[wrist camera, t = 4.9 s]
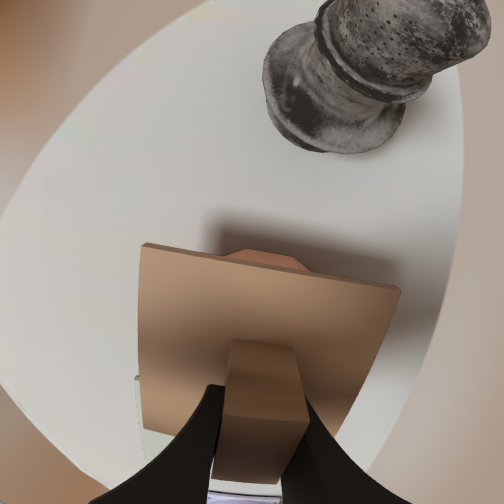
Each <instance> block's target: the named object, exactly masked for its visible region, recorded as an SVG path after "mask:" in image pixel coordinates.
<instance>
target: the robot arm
mask: <svg viewBox="0 0 504 504" xmlns="http://www.w3.org/2000/svg"><path fill="white" fill-rule="evenodd" d="M224 395H225V386H221V385H215V384H209V385H207V387H206V390H205V392H204V395H203V397H202V399H201V401H200V402H199V404H198V406H197V407H196V409H195V411H194V412H193V414H192V415H191V417H190V418H189V420H188V421H187V422H186V424H185V425H184V426H183V428H182V429H181V430H180V431H179V433H178V434H177V435H176V436H175V438H174V439H173V440H172V441H171V442H170V443H169V444H168V445H167V446H166V447H165V449H164V450H163V451H161V452H160V453H159V454H158V455H157V456H156V457H155V458H154V459H153V460H152V461H151V462H150V463H148V464H147V465H146V466H145V467H144V468H143V469H141V470H140V471H139V472H137V473H136V474H135V475H133V476H132V477H130V478H129V479H128V480H126V481H125V482H123V483H122V484H120V485H119V486H117V487H115V488H114V489H112V490H110V491H108V492H107V493H105V494H103V495H101V496H99V497H97V498H95V499H93V500H91V501H90V502H89V503H88V504H279V502H280V498H278V497H253V496H240V495H230V494H221V493H214V492H208V487H209V479H210V470H211V466H212V462H213V458H214V454H215V449H216V444H217V438H218V433H219V428H220V423H221V418H222V412H223V405H224ZM304 396H305V395H304ZM305 400H306V405H307V409H308V414H309V419H310V423H309V425H308V427H307V429H306V431H305V433H304V435H303V437H302V439H301V441H300V443H299V445H298V447H297V449H296V451H295V453H294V454H293V456H292V458H291V460H290V462H289V464H288V465H287V467H286V469H285V471H284V472H283V474H282V476H281V478H280V479H281V487H282V495H283V504H412V503H410V502H408V501H406V500H404V499H402V498H400V497H399V496H397V495H395V494H393V493H392V492H390V491H389V490H387V489H386V488H384V487H383V486H382V485H380V484H379V483H377V482H376V481H375V480H374V479H372V478H371V477H370V476H369V475H367V474H366V473H365V472H364V471H363V470H362V469H361V468H360V467H359V466H358V465H357V464H356V463H355V462H354V461H353V460H352V459H351V458H350V457H349V456H348V455H347V454H346V453H345V451H344V450H343V449H342V448H341V447H340V445H339V444H338V443H337V442H336V440H335V439H334V438H333V436H332V435H331V434H330V432H329V431H328V430H327V428H326V427H325V425H324V424H323V422H322V421H321V419H320V418H319V416H318V415H317V413H316V412H315V410H314V409H313V407H312V405H311V404H310V402H309V401H308V399H307V397H306V396H305ZM0 504H4V503H3V502H2V501H0Z"/></svg>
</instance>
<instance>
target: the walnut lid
mask: <svg viewBox="0 0 504 504" xmlns="http://www.w3.org/2000/svg"><path fill="white" fill-rule="evenodd" d="M400 293H401V290H400V289H398V288H397V287H396V286H395V285H389V284H383V283H376V282H370V281H364V280H358V279H352V278H346V277H340V276H334V275H328V274H322V273H316V272H310V271H305V270H299V269H293V268H287V267H281V266H275V265H270V264H264V263H258V262H252V261H247V260H241V259H235V258H230V257H224V256H218V255H213V254H207V253H202V252H196V251H191V250H185V249H180V248H174V247H169V246H163V245H158V244H152V243H145V244H144V245H142V246H141V254H140V269H139V290H138V363H139V383H140V398H141V409H142V420H143V428H144V429H147V430H151V431H155V432H158V433H162V434H166V435H171V436H176V435H177V434H178V433H179V431H180V430H181V429H182V428H183V426H184V425H185V424H186V422H187V421H188V420H189V418H190V417H191V415H192V414H193V412H194V411H195V409H196V407H197V406H198V404H199V402H200V401H201V399H202V397H203V395H204V392H205V390H206V387H207V385H209V384H215V385H221V386H225V395H224V405H223V412H222V418H221V423H220V428H219V433H218V438H217V444H216V449H215V454H214V459H213V467H212V475H211V479H217V480H225V481H234V482H244V483H257V484H277V483H278V481H279V479H280V478H281V476H282V474H283V472H284V471H285V469H286V467H287V465H288V464H289V462H290V460H291V458H292V456H293V454H294V453H295V451H296V449H297V447H298V445H299V443H300V441H301V439H302V437H303V435H304V433H305V431H306V429H307V427H308V425H309V423H310V419H309V414H308V409H307V405H306V400H305V396H306V397H307V399H308V401H309V402H310V404H311V405H312V407H313V409H314V410H315V412H316V413H317V415H318V416H319V418H320V419H321V421H322V422H323V424H324V425H325V427H326V428H327V430H328V431H329V432H330V434H331V435H332V436H333V438H334V437H335V435H336V434H337V432H338V430H339V429H340V427H341V425H342V423H343V422H344V420H345V418H346V416H347V414H348V413H349V411H350V409H351V407H352V405H353V403H354V401H355V399H356V397H357V396H358V394H359V392H360V390H361V388H362V386H363V384H364V381H365V379H366V377H367V375H368V373H369V371H370V369H371V367H372V364H373V362H374V360H375V358H376V355H377V353H378V351H379V348H380V346H381V344H382V341H383V339H384V336H385V334H386V331H387V329H388V326H389V324H390V321H391V318H392V316H393V313H394V310H395V307H396V304H397V302H398V299H399V296H400ZM304 395H305V396H304Z"/></svg>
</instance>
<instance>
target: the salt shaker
mask: <svg viewBox="0 0 504 504" xmlns="http://www.w3.org/2000/svg"><path fill="white" fill-rule="evenodd" d="M490 34H491V17H490V14H489V11H488V7H487V5H486V3H485V0H327V1H326V2H325V3H324V4H323V5H322V6H321V7H320V8H319V10H318V13H317V15H316V17H315V19H314V21H311V22H307V23H303V24H299V25H296V26H294V27H292V28H290V29H289V30H287V31H285V32H283V33H282V34H281V35H280V36H279V37H278V38H277V39H276V40H275V41H274V42H273V44H272V45H271V46H270V48H269V51H268V53H267V55H266V57H265V59H264V66H263V75H262V80H263V85H264V90H265V95H266V103H267V108H268V113H269V116H270V118H271V120H272V122H273V124H274V126H275V127H276V128H277V129H278V131H279V132H280V133H281V134H282V135H283V136H284V137H285V138H286V139H288V140H289V141H290V142H292V143H293V144H294V145H296V146H299V147H301V148H303V149H306V150H308V151H314V152H321V153H324V152H335V153H340V154H351V153H363V152H366V151H368V150H371V149H374V148H376V147H379V146H380V145H382V144H383V143H384V142H385V141H387V140H388V139H389V138H391V137H392V136H393V134H394V133H395V131H396V130H397V128H398V127H399V125H400V124H401V121H402V118H403V115H404V111H405V106H406V102H408V101H412V100H415V99H417V98H418V97H419V96H421V95H422V94H423V93H425V92H426V90H427V88H428V87H429V85H430V83H431V82H432V77H433V74H436V73H438V72H440V71H442V70H444V69H447V68H449V67H451V66H454V65H456V64H458V63H460V62H463V61H465V60H467V59H470V58H472V57H474V56H475V55H477V54H478V53H479V52H481V51H482V50H483V49H484V48H485V47H486V46H487V44H488V41H489V39H490Z"/></svg>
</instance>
